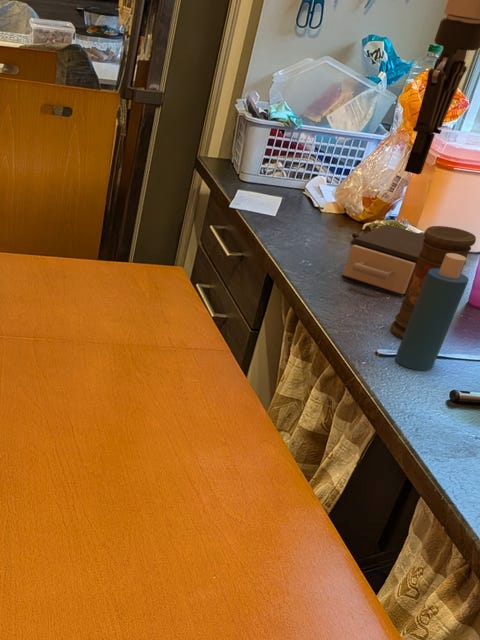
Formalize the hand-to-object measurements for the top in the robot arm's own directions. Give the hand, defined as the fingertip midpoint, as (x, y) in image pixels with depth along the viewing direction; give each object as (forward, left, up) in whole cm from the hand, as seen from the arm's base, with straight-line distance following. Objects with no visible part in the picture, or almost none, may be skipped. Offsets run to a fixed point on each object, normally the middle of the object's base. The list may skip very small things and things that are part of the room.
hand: (412, 172), depth 171 cm
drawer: (+2, -10, -22) cm, 24 cm away
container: (-14, +13, -23) cm, 30 cm away
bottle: (-19, +26, -23) cm, 39 cm away
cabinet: (+2, -14, -23) cm, 27 cm away
